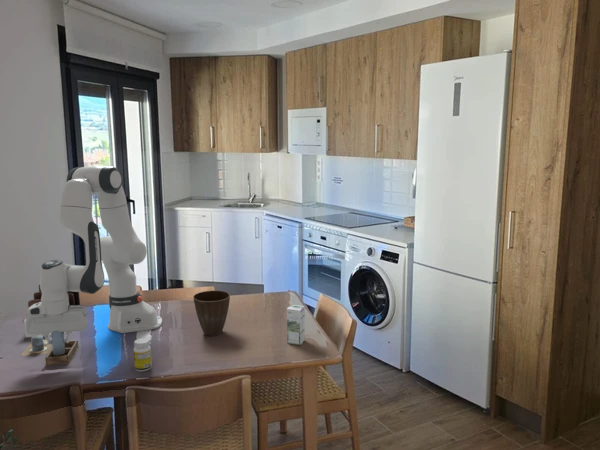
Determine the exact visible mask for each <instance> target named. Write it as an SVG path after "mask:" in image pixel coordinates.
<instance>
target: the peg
mask: <svg viewBox="0 0 600 450" xmlns="http://www.w3.org/2000/svg"><path fill="white" fill-rule="evenodd" d="M50 336H51V338H52V347H53V355H62V354H64V353H65V343H64V341H63V339H64V337H65V332H59V331H53V333H51V335H50Z"/></svg>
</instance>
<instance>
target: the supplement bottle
mask: <svg viewBox="0 0 600 450" xmlns="http://www.w3.org/2000/svg"><path fill="white" fill-rule="evenodd" d="M133 345H134V347H133V361H134V362H133V364H134V370H135V371H136V372H147V371H149V370H151V369H152V353H151V352H152V349H151V346H150V340H149V339H148V338H138V339H135V340H134V344H133Z"/></svg>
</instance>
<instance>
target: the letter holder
mask: <svg viewBox="0 0 600 450" xmlns="http://www.w3.org/2000/svg"><path fill="white" fill-rule="evenodd" d="M67 294H68V298H69V305H81V300H80V292H72V291H67ZM41 297H42V292H41V289H40V283H39V284H38V291H36V292H34V293H33V299H30V300H28V302H27V305H28V306H27V307H28V309H29V307H31V306H32V305H33V304H36V303H39V302H41Z"/></svg>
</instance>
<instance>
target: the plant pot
mask: <svg viewBox="0 0 600 450" xmlns="http://www.w3.org/2000/svg"><path fill="white" fill-rule="evenodd" d="M192 298H193V303H194V309H195V313H196V316H197V319H198V323H199V325H200V328H201V330H202V333H203V334H204V335H205V336H208V337H209V336H211V337H212V336H219V335H221V334H222V332H223V330H224V326H225V323H226V321H227V317H228V312H229V307H230V298H231V294H230V293H229V292H227V291H224V290H205V291H200V292H198V293H195V294H194V295H193V297H192Z"/></svg>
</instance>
